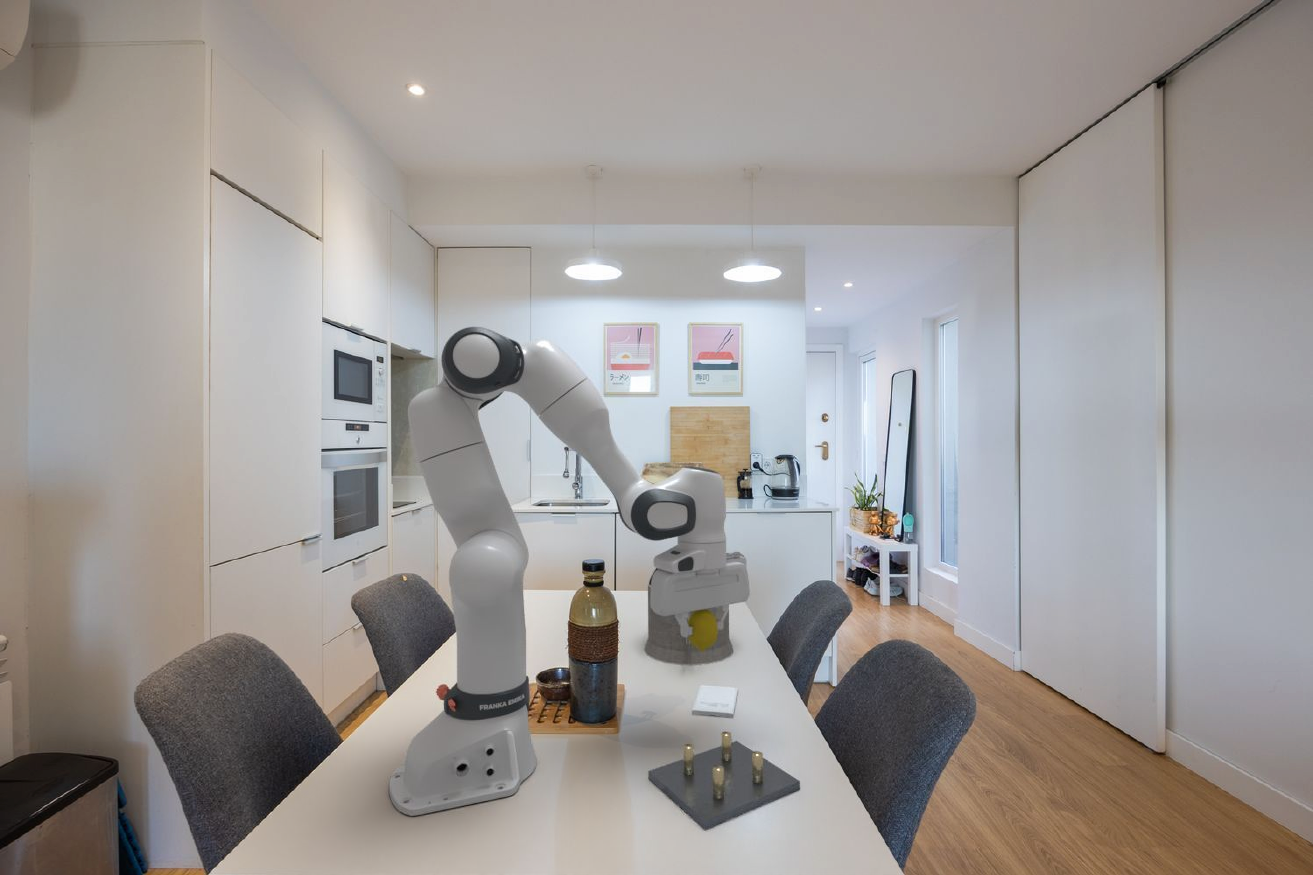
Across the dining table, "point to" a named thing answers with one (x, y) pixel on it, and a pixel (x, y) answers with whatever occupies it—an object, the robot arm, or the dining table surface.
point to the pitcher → (682, 640)
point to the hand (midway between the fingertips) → (702, 632)
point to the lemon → (703, 629)
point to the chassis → (722, 782)
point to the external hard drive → (715, 701)
